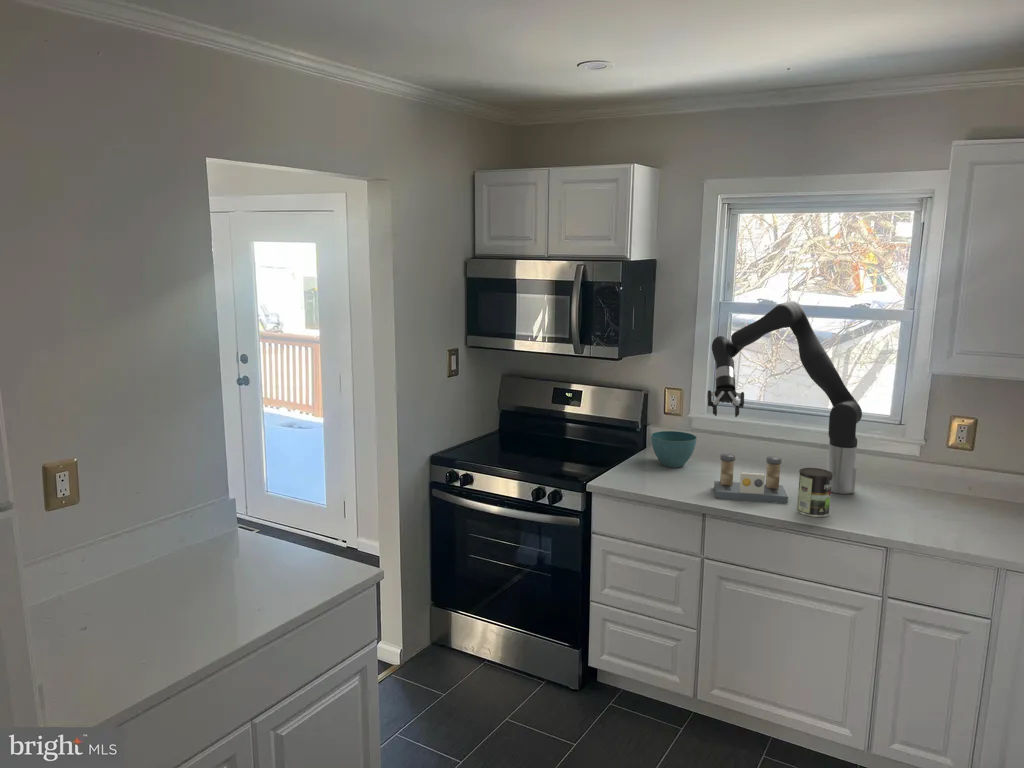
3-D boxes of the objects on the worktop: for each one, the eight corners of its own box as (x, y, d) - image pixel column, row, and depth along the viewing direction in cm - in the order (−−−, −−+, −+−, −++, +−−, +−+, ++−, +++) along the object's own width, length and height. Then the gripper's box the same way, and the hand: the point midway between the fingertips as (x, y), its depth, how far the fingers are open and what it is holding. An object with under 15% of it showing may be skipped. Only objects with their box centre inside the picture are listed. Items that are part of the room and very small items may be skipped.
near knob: (778, 485, 268) (780, 456, 266) (780, 489, 263) (782, 460, 261) (763, 483, 269) (765, 455, 268) (765, 488, 264) (767, 459, 262)
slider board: (781, 492, 269) (783, 466, 267) (787, 503, 256) (789, 477, 255) (714, 487, 274) (715, 462, 272) (716, 498, 261) (717, 472, 260)
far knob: (733, 481, 272) (734, 454, 270) (734, 486, 267) (736, 457, 265) (718, 480, 273) (720, 453, 271) (719, 485, 268) (721, 456, 266)
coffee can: (832, 511, 249) (836, 471, 247) (824, 519, 241) (828, 478, 239) (801, 504, 255) (804, 465, 253) (792, 512, 247) (795, 472, 245)
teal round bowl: (641, 461, 307) (642, 433, 305) (676, 456, 315) (678, 429, 312) (667, 473, 291) (669, 443, 289) (704, 468, 298) (706, 438, 296)
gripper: (707, 373, 290) (707, 409, 280) (745, 375, 287) (746, 411, 278) (705, 384, 296) (705, 419, 287) (743, 386, 293) (744, 421, 284)
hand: (726, 415), depth 282 cm, fingers open, 7 cm apart
